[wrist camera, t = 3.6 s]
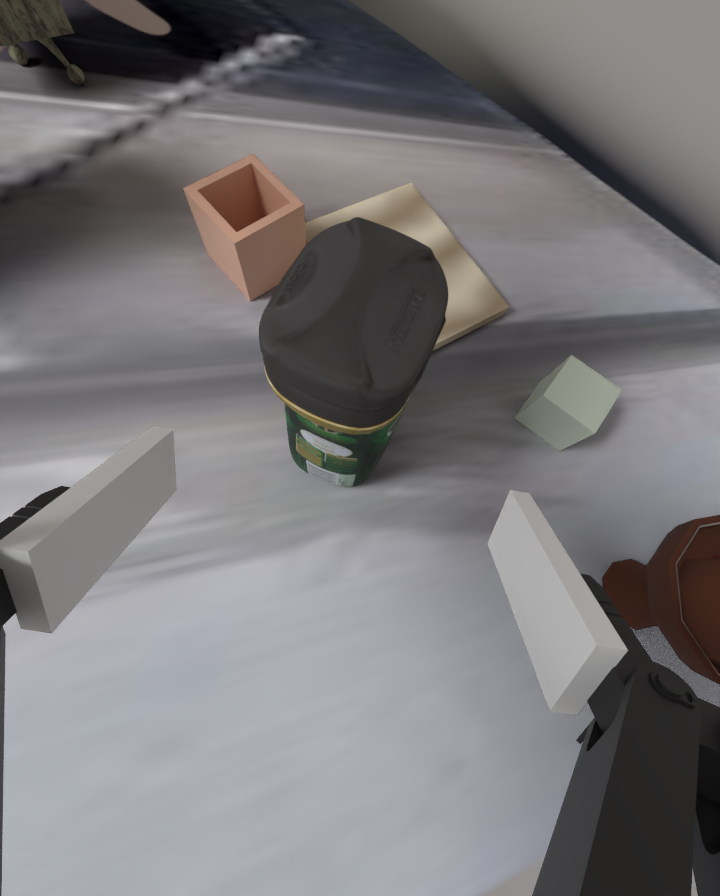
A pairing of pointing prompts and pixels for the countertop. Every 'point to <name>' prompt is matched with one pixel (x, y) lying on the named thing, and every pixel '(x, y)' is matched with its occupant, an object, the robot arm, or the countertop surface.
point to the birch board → (415, 218)
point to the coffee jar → (351, 343)
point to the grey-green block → (568, 404)
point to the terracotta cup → (248, 224)
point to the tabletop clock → (35, 29)
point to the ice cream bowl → (676, 593)
